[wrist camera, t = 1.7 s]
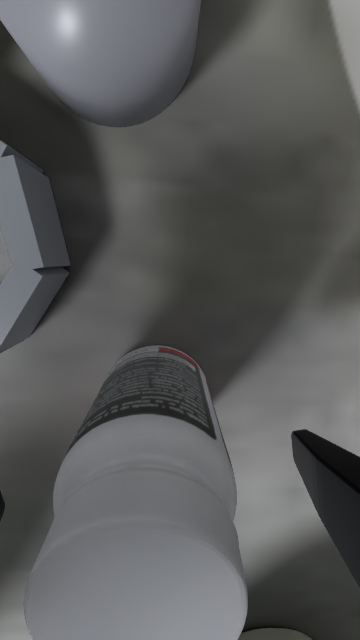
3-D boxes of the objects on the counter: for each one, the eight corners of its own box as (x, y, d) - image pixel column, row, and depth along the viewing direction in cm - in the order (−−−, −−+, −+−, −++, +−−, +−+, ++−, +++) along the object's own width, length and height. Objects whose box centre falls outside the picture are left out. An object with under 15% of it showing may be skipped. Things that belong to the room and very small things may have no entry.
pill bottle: (85, 376, 13) (-67, 587, 5) (173, 323, 12) (175, 450, 4) (142, 453, 14) (100, 739, 6) (225, 405, 13) (312, 640, 5)
